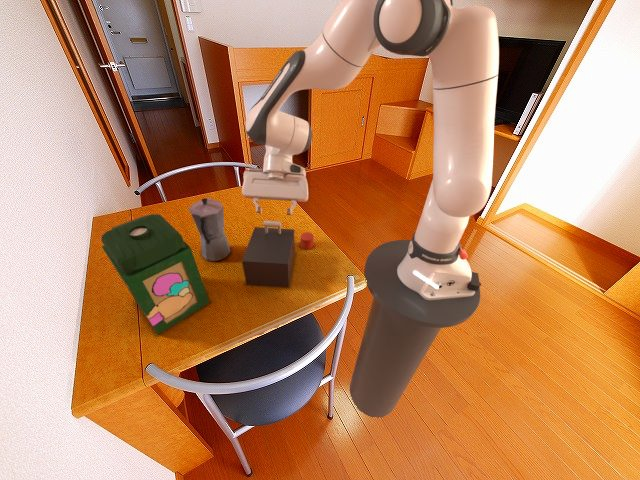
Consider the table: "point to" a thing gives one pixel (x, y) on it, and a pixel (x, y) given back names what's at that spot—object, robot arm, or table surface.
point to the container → (156, 269)
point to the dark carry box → (269, 273)
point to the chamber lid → (269, 245)
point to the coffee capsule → (307, 240)
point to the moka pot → (211, 228)
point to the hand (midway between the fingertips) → (274, 214)
